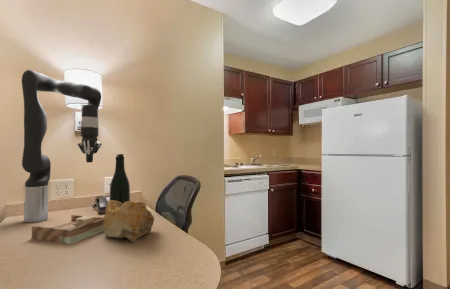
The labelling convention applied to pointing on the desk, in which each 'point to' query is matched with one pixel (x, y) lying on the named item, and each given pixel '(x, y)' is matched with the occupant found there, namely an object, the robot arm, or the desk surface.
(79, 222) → the birch block
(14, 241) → the desk surface
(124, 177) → the dark green wine bottle
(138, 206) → the rough brown rock
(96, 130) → the robot arm
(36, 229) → the tray
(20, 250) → the desk surface
